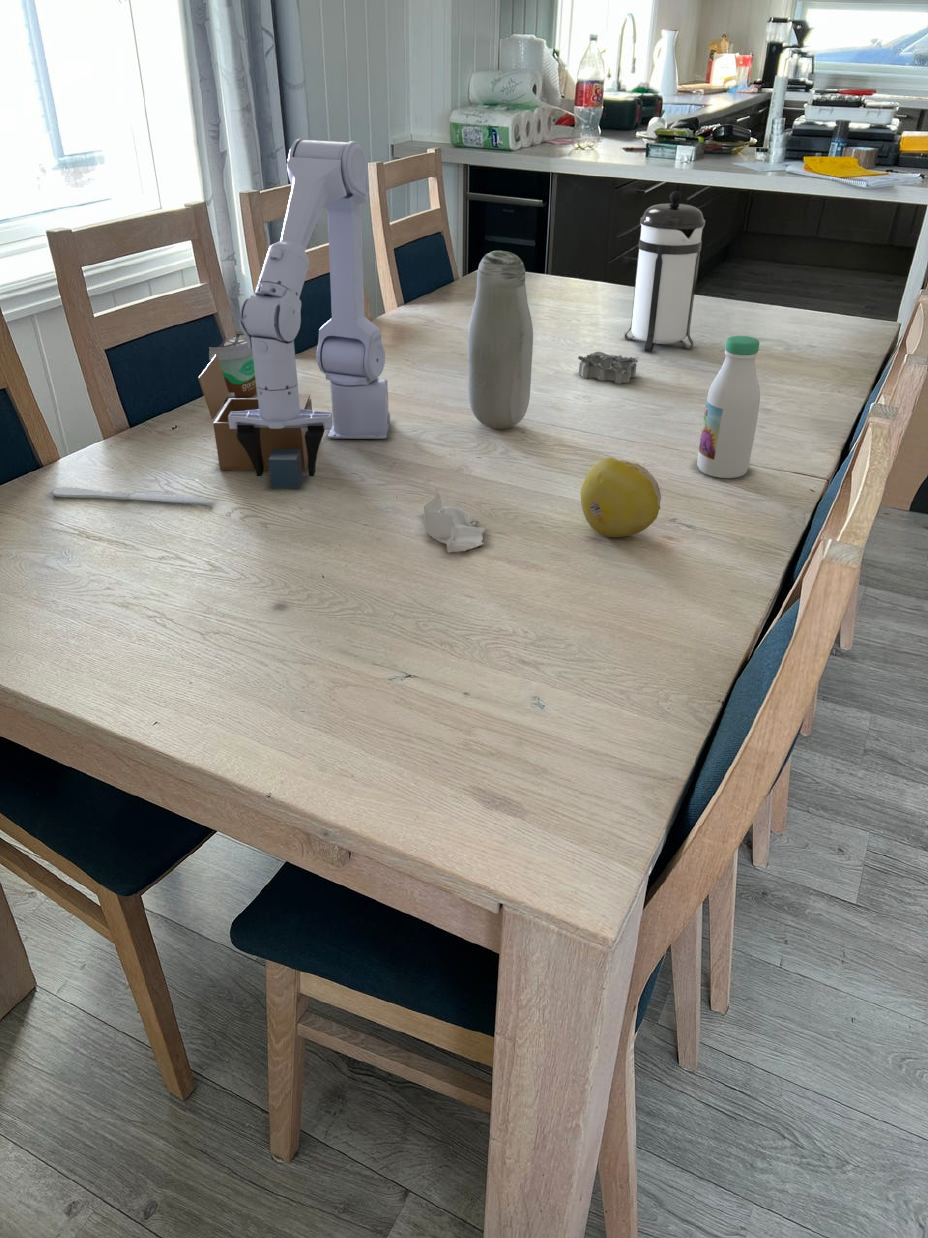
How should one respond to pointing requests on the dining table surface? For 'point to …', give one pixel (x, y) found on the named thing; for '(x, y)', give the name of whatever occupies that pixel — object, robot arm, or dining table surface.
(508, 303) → the grey bottle
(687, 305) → the coffee press
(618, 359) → the egg carton
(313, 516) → the dining table surface
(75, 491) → the butter knife
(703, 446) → the milk bottle
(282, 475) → the block
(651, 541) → the dining table surface
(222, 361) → the food container
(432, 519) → the fabric
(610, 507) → the fruit
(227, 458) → the carton
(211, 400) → the flap
